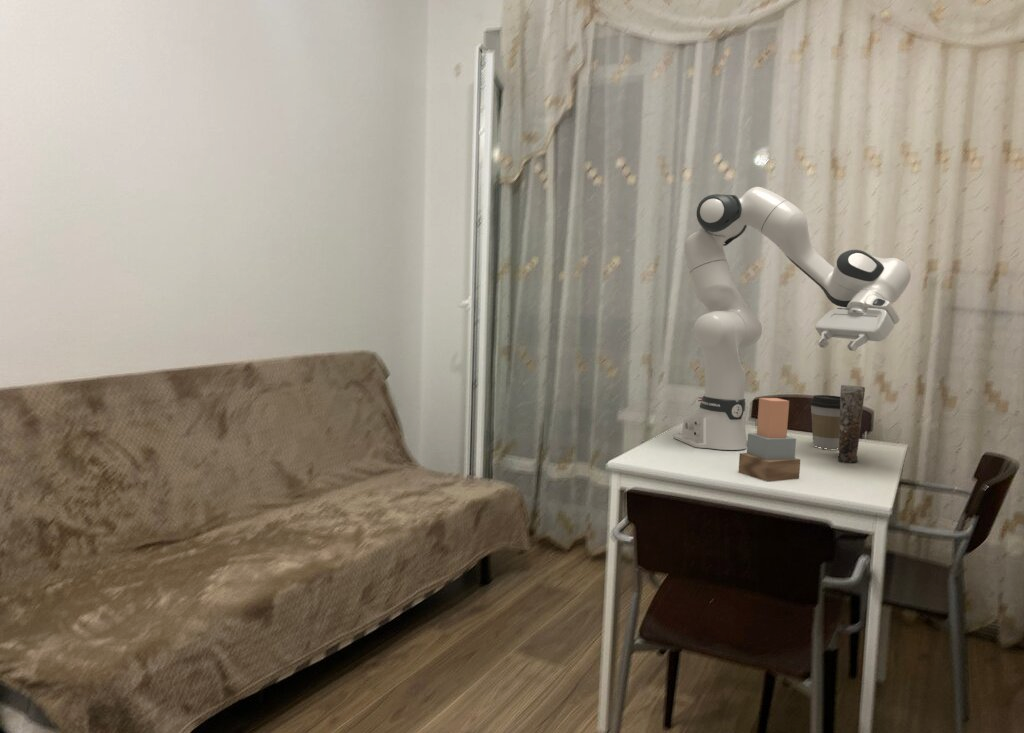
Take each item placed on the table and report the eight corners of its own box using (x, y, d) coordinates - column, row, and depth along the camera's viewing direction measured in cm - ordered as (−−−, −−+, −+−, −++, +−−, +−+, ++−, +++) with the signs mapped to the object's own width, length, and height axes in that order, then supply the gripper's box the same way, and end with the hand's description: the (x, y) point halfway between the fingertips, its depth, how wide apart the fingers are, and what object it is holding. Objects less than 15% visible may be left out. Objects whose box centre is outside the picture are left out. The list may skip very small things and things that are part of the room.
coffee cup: (856, 450, 231) (860, 399, 229) (825, 452, 226) (829, 400, 225) (827, 443, 241) (831, 394, 240) (797, 444, 237) (801, 394, 235)
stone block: (832, 453, 225) (837, 383, 224) (858, 455, 223) (864, 385, 221) (835, 462, 213) (841, 388, 211) (863, 464, 211) (870, 390, 209)
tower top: (746, 453, 196) (747, 433, 196) (773, 452, 199) (775, 432, 198) (766, 460, 189) (767, 439, 188) (794, 459, 191) (796, 438, 191)
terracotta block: (756, 434, 195) (759, 397, 194) (774, 434, 196) (777, 398, 195) (768, 438, 190) (771, 401, 189) (786, 437, 191) (789, 401, 190)
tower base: (738, 473, 196) (739, 453, 196) (768, 470, 200) (770, 451, 200) (767, 482, 187) (769, 462, 187) (798, 479, 192) (800, 459, 191)
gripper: (828, 299, 212) (798, 335, 209) (894, 301, 194) (862, 341, 191) (839, 316, 215) (810, 352, 211) (905, 320, 196) (874, 359, 193)
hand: (835, 347), depth 201 cm, fingers open, 8 cm apart
